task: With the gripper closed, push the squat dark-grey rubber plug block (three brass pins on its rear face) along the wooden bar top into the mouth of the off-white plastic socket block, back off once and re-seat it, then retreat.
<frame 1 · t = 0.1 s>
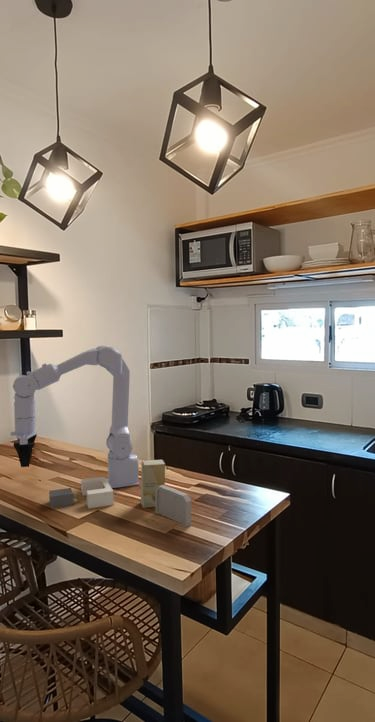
hand: (26, 462, 132), 10 cm above the table, fingers open, 7 cm apart
skincare box: (153, 504, 127), on the table
light switch: (172, 519, 117), on the table
socket block: (96, 498, 131), on the table
plug: (61, 504, 127), on the table
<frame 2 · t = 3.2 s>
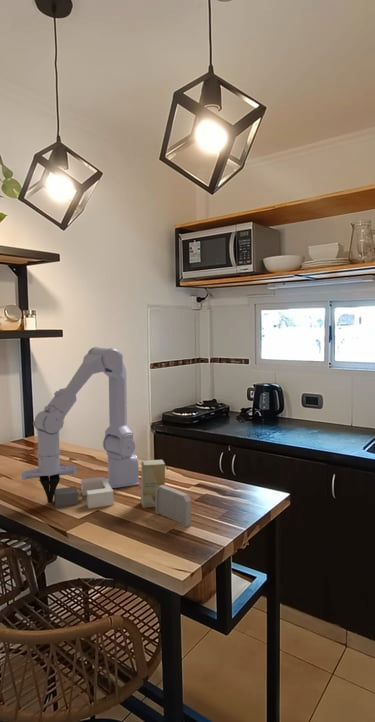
hand: (50, 501, 126), 1 cm above the table, fingers closed
plug: (66, 502, 128), on the table, touching gripper
everything else where it was.
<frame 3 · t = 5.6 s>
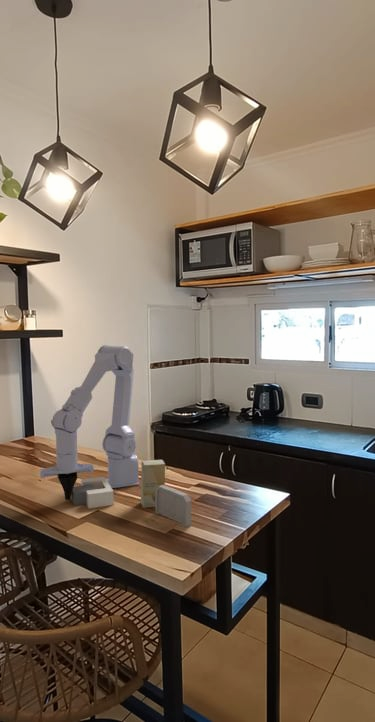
hand: (67, 498, 128), 1 cm above the table, fingers closed
plug: (83, 500, 129), on the table, touching gripper
everything else where it was.
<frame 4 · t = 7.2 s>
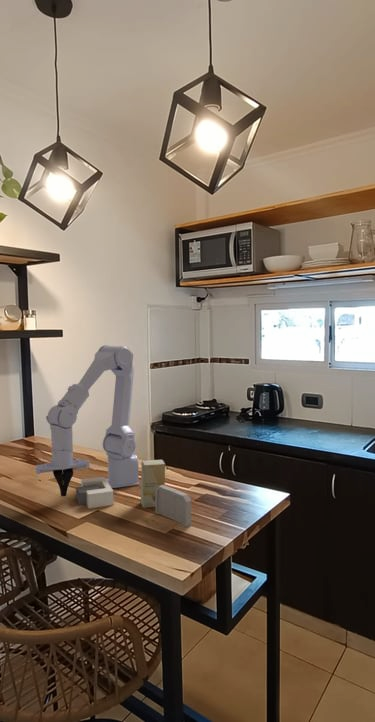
hand: (63, 495, 127), 2 cm above the table, fingers closed
plug: (88, 500, 130), on the table
everything else where it was.
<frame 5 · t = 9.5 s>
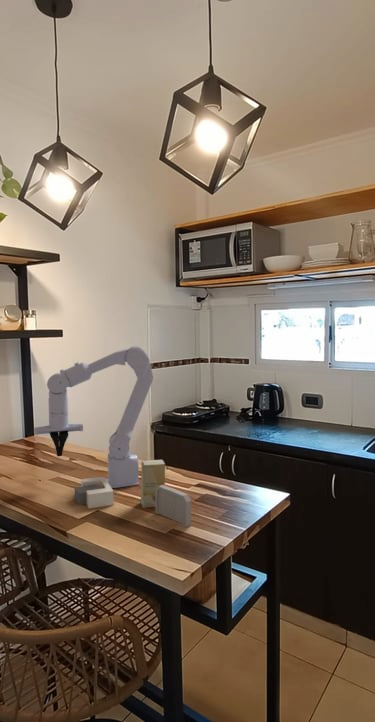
hand: (59, 455, 140), 10 cm above the table, fingers closed
nothing on the table moved.
at the end: plug 0.1 cm from the target spot, on the table; plug tilted 0° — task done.
